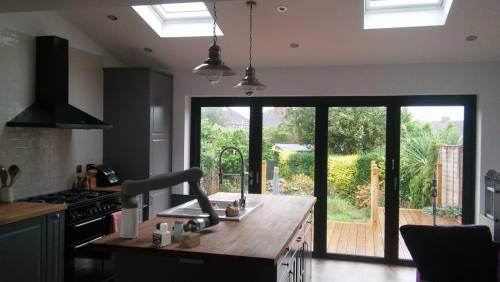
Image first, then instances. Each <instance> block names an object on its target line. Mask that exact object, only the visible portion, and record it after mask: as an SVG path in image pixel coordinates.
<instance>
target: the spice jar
mask: <svg viewBox="0 0 500 282" xmlns="http://www.w3.org/2000/svg"><path fill="white" fill-rule="evenodd" d="M173 221H174V222H173V227H174V231H173V241H174V242H179V235H180V234H183V233H184V230H183V224H184V220H183V219H175V220H173Z"/></svg>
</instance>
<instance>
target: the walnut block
mask: <svg viewBox="0 0 500 282" xmlns="http://www.w3.org/2000/svg"><path fill="white" fill-rule="evenodd" d="M178 242H179V246H180V247H186V248H194V247H196V246H200V245H201V233H198V232H183V234H180V235H179V241H178Z"/></svg>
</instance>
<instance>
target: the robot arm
mask: <svg viewBox="0 0 500 282" xmlns="http://www.w3.org/2000/svg"><path fill="white" fill-rule="evenodd" d="M203 177H204V172H203V169H201V168H200V167H198V166H193V167H190V168H187V169H184V170H180V171H179V170H177V171H170V172H164V173H160V174H157V175H154V176H152V177H150V178H146V179H140V180H133V179H126V180H123V182H122V183H121V185H120V204H121V220H120V221H119V238H121V237H122V238H121V239H123V238H133V239H137V238H138V236H139V235H138V234H139V202H138V201H137V196H139V195H142V194H145V193H148V192H153V191H154V192H155V191H161V190H165V189H169V188H173V187H175V186H179V185H181V184H183V183H188V185H189V188H190V189H191V191H192V192H193V194H194V196H195V198H196V201H197V203H198V205H199V208H200V210H201V213H202V214H207V216H205V217H203V216H202V217H198V218H193V219H189V220H188V221H187V222H186V223H183V233H186V232H193V233H197V232H199V231H202V230H204V229H208V228H212V227H215V226H218V225H219V224H220V215H218V213H217V212H216V211H215V209H214V208H213V206H212V204H211V201H210V199H209V197H208V195H207V194H206V193H205V191H204V189H202V186H201V184H200V182H199V181H201V180H202V178H203ZM172 231H173V232H174V226H172ZM136 237H137V238H136Z"/></svg>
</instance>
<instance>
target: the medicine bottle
mask: <svg viewBox="0 0 500 282" xmlns="http://www.w3.org/2000/svg"><path fill="white" fill-rule="evenodd" d="M155 227H156V228H155V231H152V241H151V242H152V243H151V244H153V245H152V246H155V245H157V246H156V247H159V246H160V248H163V247H166V245H167V246H169V245H170V246H171V243H172V231H168V223H167V222H164V221H159V222H157V223H156V225H155ZM162 246H163V247H162Z"/></svg>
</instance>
